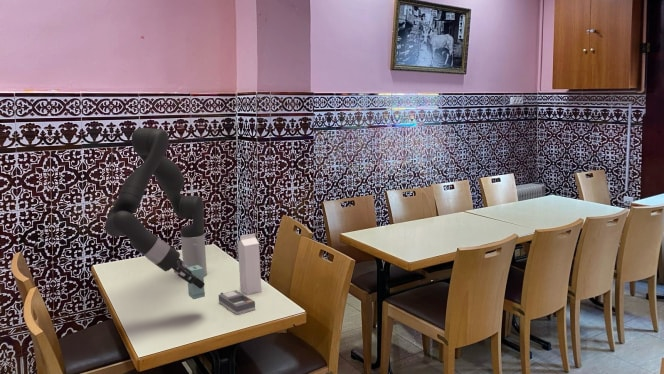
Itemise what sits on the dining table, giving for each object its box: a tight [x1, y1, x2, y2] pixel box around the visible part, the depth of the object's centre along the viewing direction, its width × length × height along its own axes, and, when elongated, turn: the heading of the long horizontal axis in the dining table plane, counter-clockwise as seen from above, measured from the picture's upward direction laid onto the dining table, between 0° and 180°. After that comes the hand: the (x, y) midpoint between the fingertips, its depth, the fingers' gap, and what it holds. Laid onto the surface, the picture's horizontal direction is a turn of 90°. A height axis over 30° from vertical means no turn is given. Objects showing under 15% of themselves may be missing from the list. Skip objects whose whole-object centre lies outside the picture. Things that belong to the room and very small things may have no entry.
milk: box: [237, 232, 262, 296], centre depth 208 cm, size 6×6×22 cm
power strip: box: [218, 289, 256, 315], centre depth 197 cm, size 19×7×3 cm, turn 37°
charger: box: [187, 265, 206, 300], centre depth 186 cm, size 4×4×10 cm
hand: (201, 283), depth 187 cm, fingers closed on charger, 5 cm apart
